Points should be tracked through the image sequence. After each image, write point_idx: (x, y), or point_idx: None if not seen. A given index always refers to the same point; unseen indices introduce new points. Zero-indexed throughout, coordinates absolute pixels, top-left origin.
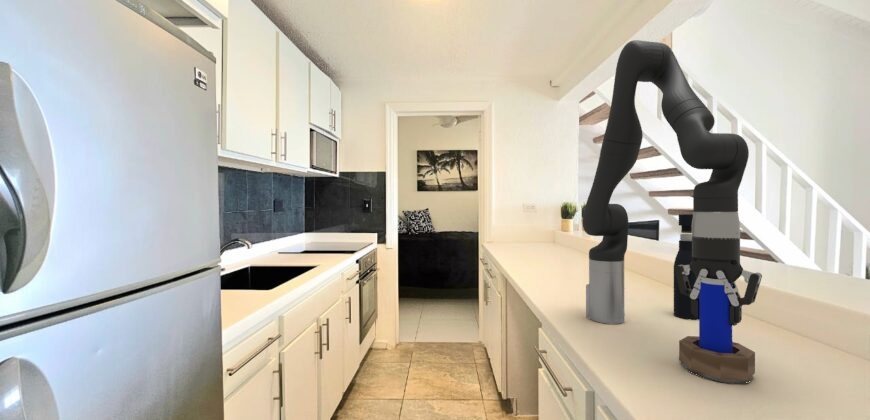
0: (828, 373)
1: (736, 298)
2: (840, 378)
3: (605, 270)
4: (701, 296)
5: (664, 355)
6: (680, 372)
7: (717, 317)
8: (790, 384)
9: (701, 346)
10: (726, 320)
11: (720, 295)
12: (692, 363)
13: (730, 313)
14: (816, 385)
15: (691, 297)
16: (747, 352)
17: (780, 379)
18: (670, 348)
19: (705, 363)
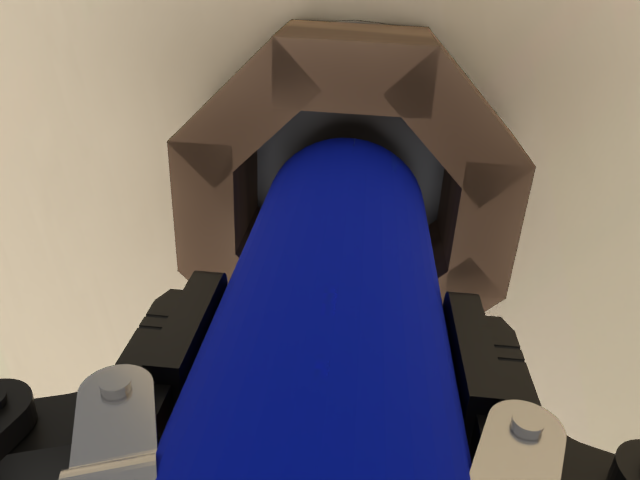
0: None
1: (78, 429)
2: None
3: None
4: (432, 400)
5: (589, 193)
6: (477, 2)
7: (285, 251)
8: (110, 238)
9: (405, 170)
10: (234, 272)
11: (209, 405)
12: (426, 32)
13: (194, 322)
14: (57, 294)
15: (542, 416)
16: (198, 238)
17: (147, 265)
18: (576, 311)
19: (358, 30)
